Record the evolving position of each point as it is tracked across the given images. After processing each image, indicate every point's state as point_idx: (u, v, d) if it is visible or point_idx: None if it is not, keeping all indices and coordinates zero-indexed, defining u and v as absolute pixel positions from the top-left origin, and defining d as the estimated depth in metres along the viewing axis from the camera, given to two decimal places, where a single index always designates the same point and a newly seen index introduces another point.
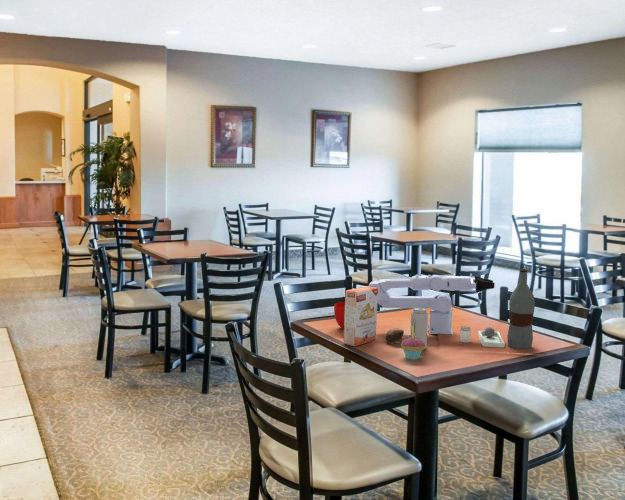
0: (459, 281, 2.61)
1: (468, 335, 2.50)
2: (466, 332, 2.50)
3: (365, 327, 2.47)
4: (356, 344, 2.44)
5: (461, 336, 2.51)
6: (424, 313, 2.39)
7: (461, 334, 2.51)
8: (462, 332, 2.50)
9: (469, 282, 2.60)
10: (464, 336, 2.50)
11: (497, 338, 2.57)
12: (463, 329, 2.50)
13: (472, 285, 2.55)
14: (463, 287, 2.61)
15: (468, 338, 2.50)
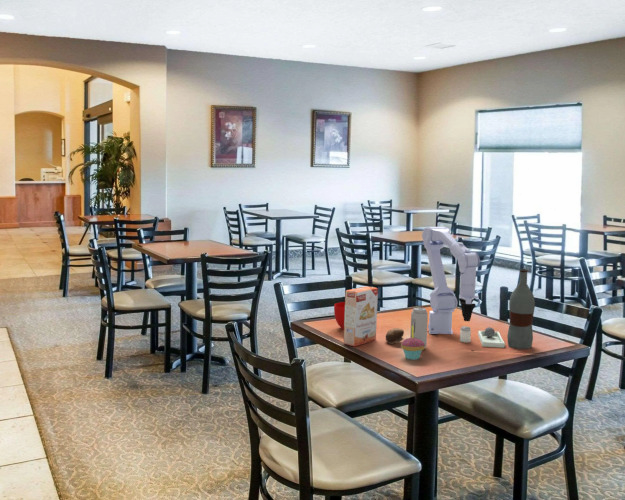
0: (471, 285, 2.47)
1: (468, 335, 2.50)
2: (466, 332, 2.50)
3: (365, 327, 2.47)
4: (356, 344, 2.44)
5: (461, 336, 2.51)
6: (424, 313, 2.39)
7: (461, 334, 2.51)
8: (462, 332, 2.50)
9: (469, 295, 2.47)
10: (464, 336, 2.50)
11: (497, 338, 2.57)
12: (463, 329, 2.50)
13: (469, 300, 2.43)
14: (464, 289, 2.47)
15: (468, 338, 2.50)
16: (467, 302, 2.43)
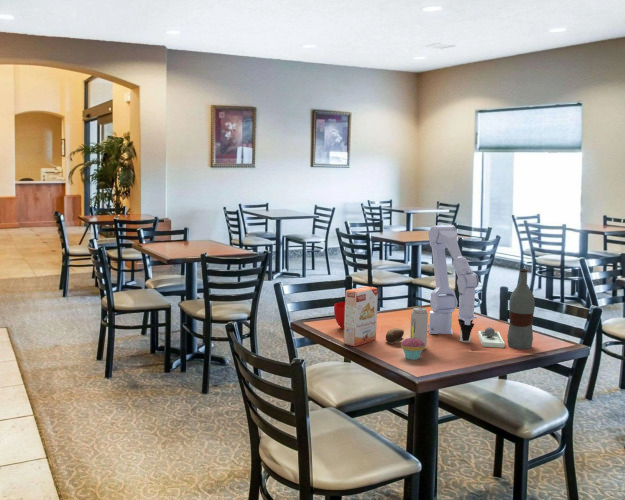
0: (470, 306, 2.48)
1: None
2: None
3: (365, 327, 2.47)
4: (356, 344, 2.44)
5: (461, 336, 2.51)
6: (424, 313, 2.39)
7: (461, 334, 2.51)
8: None
9: (469, 316, 2.48)
10: None
11: (497, 338, 2.57)
12: None
13: (468, 321, 2.44)
14: (463, 309, 2.48)
15: None
16: (466, 323, 2.44)
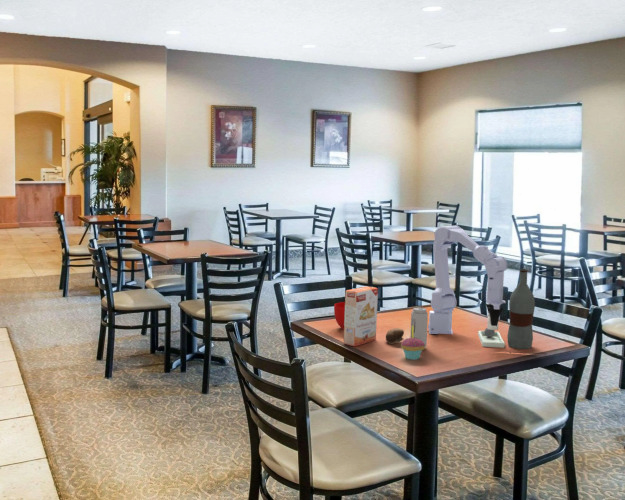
0: (499, 290, 2.43)
1: None
2: None
3: (365, 327, 2.47)
4: (356, 344, 2.44)
5: (489, 322, 2.46)
6: (424, 313, 2.39)
7: (489, 320, 2.46)
8: None
9: (497, 300, 2.43)
10: None
11: (497, 338, 2.57)
12: None
13: (497, 305, 2.39)
14: (491, 294, 2.43)
15: None
16: (495, 307, 2.39)
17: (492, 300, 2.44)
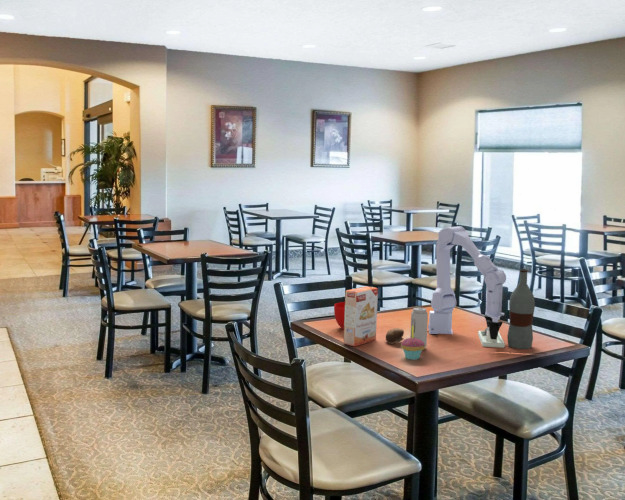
0: (497, 303, 2.45)
1: None
2: None
3: (365, 327, 2.47)
4: (356, 344, 2.44)
5: (488, 336, 2.48)
6: (424, 313, 2.39)
7: (488, 334, 2.48)
8: (489, 332, 2.48)
9: (496, 313, 2.45)
10: None
11: (497, 338, 2.57)
12: None
13: (496, 318, 2.41)
14: (490, 307, 2.45)
15: None
16: (494, 320, 2.41)
17: (491, 313, 2.46)
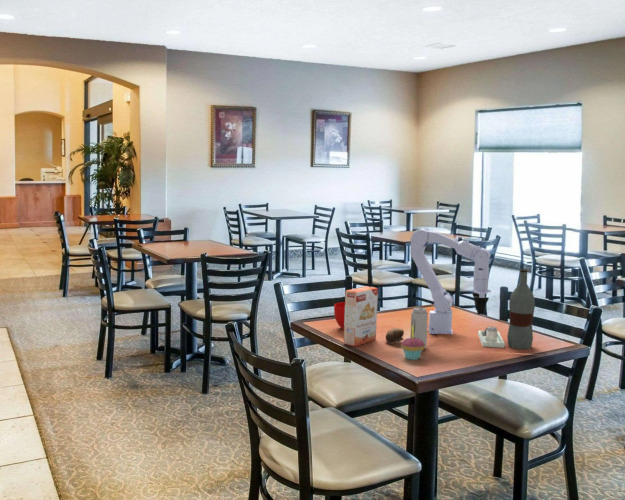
0: (484, 280, 2.56)
1: (495, 335, 2.47)
2: (493, 332, 2.47)
3: (365, 327, 2.47)
4: (356, 344, 2.44)
5: (487, 336, 2.48)
6: (424, 313, 2.39)
7: (488, 334, 2.48)
8: (489, 332, 2.48)
9: (483, 289, 2.57)
10: (491, 336, 2.47)
11: (497, 338, 2.57)
12: (490, 329, 2.48)
13: (482, 294, 2.52)
14: (477, 283, 2.57)
15: (495, 338, 2.48)
16: (481, 296, 2.53)
17: (478, 289, 2.57)
